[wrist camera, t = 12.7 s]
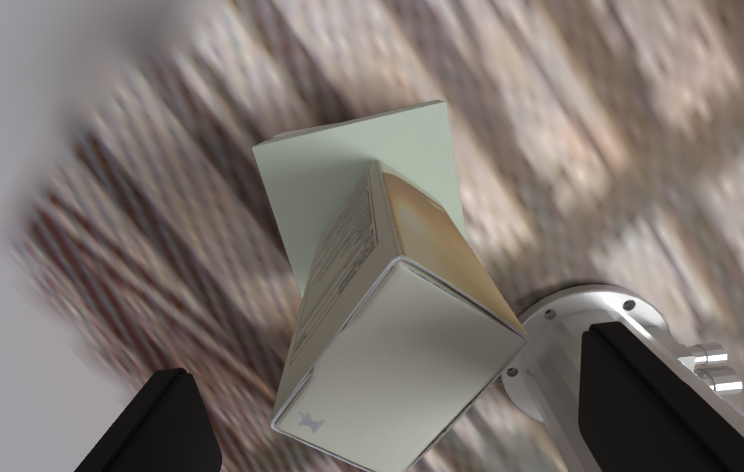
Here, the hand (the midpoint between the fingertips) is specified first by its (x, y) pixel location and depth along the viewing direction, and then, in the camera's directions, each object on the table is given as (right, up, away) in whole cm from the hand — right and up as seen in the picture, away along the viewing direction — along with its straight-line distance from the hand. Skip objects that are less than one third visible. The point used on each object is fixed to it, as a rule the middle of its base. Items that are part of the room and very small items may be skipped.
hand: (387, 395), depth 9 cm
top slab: (-1, +6, +15) cm, 16 cm away
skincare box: (0, +5, +12) cm, 13 cm away
